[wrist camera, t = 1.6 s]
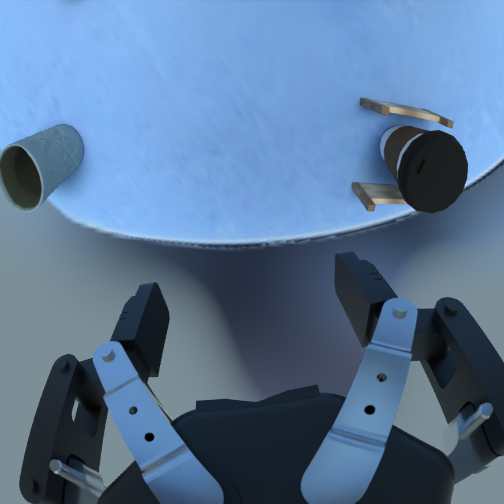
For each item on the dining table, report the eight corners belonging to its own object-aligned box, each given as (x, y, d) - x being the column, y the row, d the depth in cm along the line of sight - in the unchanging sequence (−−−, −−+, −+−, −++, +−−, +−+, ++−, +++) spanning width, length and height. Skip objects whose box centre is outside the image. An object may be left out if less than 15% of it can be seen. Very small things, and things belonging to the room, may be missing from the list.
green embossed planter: (81, 182, 38) (43, 222, 29) (39, 166, 35) (-3, 200, 26) (92, 126, 32) (45, 155, 23) (46, 112, 29) (-4, 137, 20)
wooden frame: (426, 109, 31) (453, 121, 25) (412, 190, 40) (432, 212, 34) (360, 97, 31) (382, 106, 25) (351, 188, 40) (367, 211, 34)
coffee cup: (354, 162, 37) (387, 201, 28) (381, 98, 31) (428, 117, 21) (407, 185, 39) (445, 226, 30) (434, 129, 32) (482, 158, 23)
